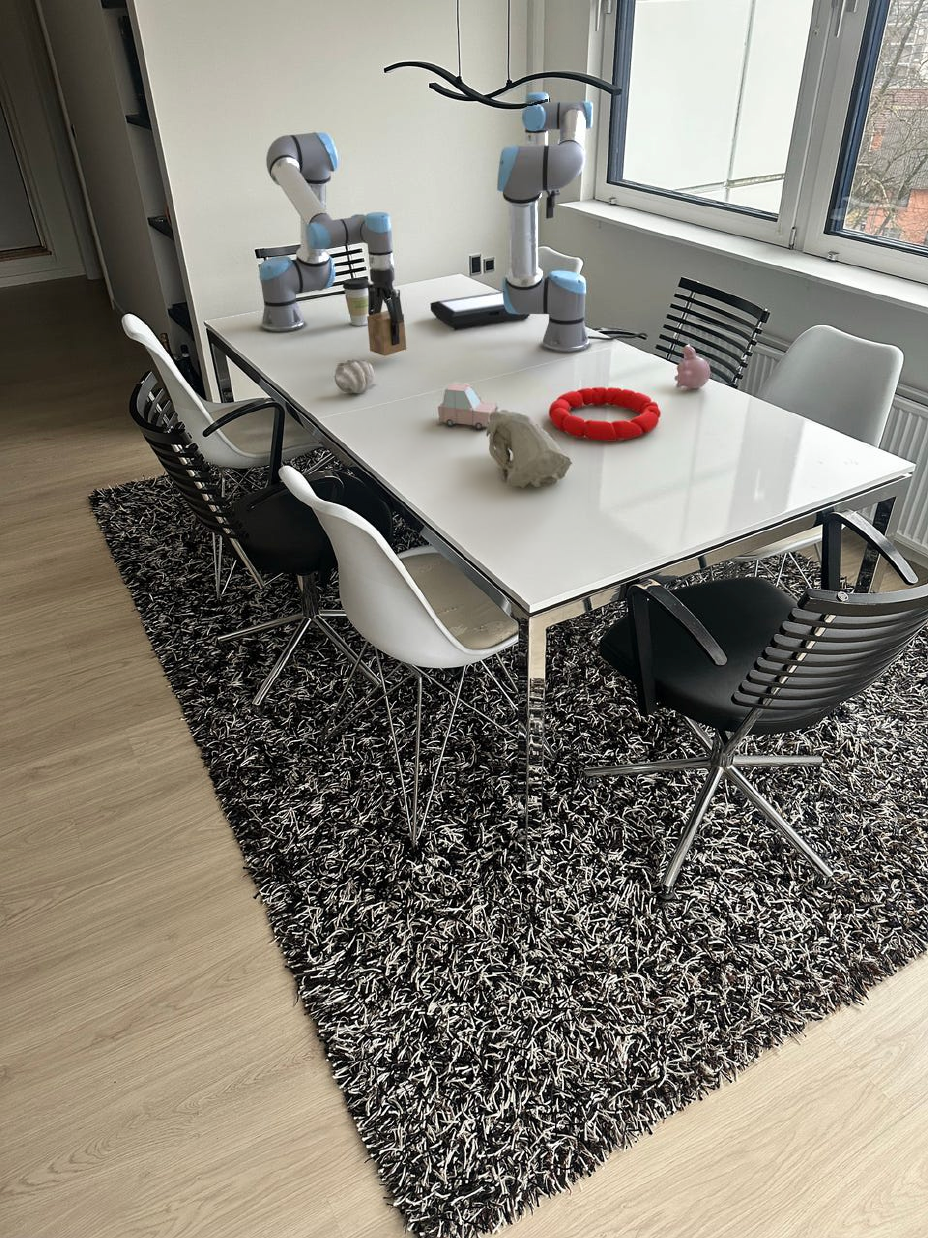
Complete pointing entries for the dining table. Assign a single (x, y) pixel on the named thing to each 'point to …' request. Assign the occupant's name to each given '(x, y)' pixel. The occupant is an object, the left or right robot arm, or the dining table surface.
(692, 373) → the figurine
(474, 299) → the electronic device
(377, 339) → the brown wooden block
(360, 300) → the coffee cup
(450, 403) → the toy car
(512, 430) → the animal skull
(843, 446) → the dining table surface
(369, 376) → the seashell
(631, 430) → the decorative ring
